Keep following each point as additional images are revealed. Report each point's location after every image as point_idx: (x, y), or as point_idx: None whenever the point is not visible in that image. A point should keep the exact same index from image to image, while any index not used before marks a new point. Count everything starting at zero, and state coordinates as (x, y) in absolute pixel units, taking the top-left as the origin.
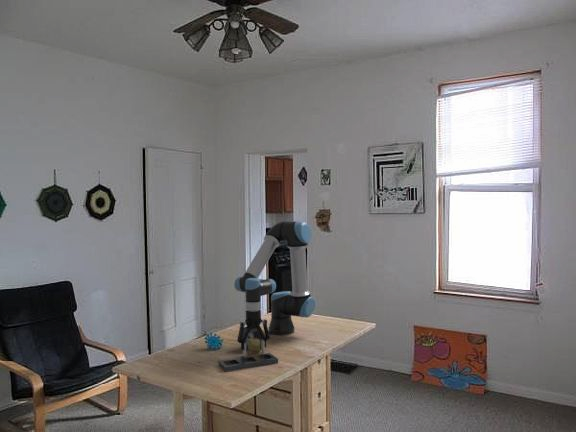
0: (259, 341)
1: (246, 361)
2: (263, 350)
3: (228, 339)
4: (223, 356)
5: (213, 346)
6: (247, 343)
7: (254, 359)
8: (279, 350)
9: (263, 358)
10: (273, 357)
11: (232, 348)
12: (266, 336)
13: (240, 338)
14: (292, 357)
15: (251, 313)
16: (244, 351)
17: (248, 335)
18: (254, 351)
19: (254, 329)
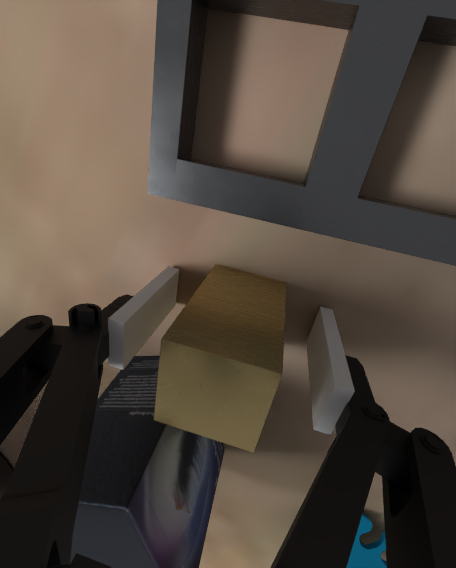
0: (171, 328)
1: (410, 207)
2: (165, 280)
3: (206, 545)
4: (425, 423)
5: (381, 547)
6: (204, 441)
7: (383, 123)
8: (47, 267)
9: (237, 170)
10: (185, 9)
11: (270, 471)
12: (44, 360)
13: (447, 492)
14: (2, 36)
15: None
16: (337, 340)
17: (178, 503)
18: (253, 294)
19: (91, 543)
